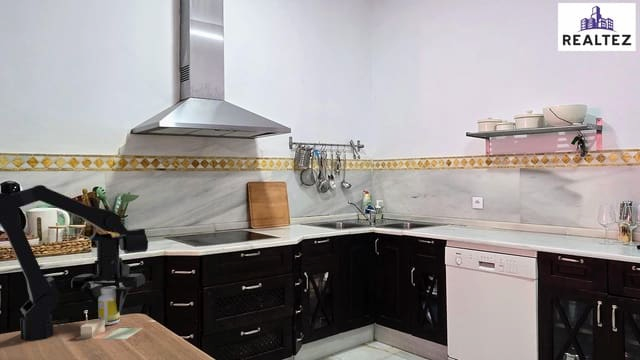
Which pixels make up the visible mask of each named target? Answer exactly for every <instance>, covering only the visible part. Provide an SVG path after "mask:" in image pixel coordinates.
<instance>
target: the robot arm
mask: <svg viewBox="0 0 640 360" xmlns="http://www.w3.org/2000/svg"><path fill="white" fill-rule="evenodd" d="M36 202H42V203H44V204H46V205H49V206H51V207H54V208H57V209H59V210H61V211H64V212H67V213H69V214H72V215H74V216H76V217H78V218H81V219H82V220H84V221H85V222H87V223H89V224H90V225H91V226H93V227H95V228H96V229H97V230H100V231H104V232H108V233H99V232H98V231H94V232H93V234H92V235H91V236H89V237H88V240H89V241H92V242H95V241H96V260H94V265H95V266H96V268H97V269H96V270H97V272H96V275H95V273H83V274H79V275H76V276H73V278H72V280H71V283H70V284H71V288H73V289H74V288H76V289H81V291H84V292H85V293H86V295H87V296H88V298H89V299H90V300H91V302H92V304H93V306H94V308H95V309H96V311H97V312H98V298H99V297H100V296H101V295H102V294H101V288H102V287H103V285H119V287H116V289H115V293H116V306H117V311H118V312H120V313H121V311H122V309H123V306H124V303H125V299H126V297H127V294H128V293H129V291H130V290H131V289H132V288H138V287H140V286H142V285H145V284H146V277H145V275H144V274H143V273H130V268H131V265H129V264H127V263H123V258H122V257H120V250H121V251H123V252H124V254H136V253H137V254H138V253H145V252H147V251H148V247H149V240H148V237H147V234H146V229H145V228H136V229H131V230H130V229H127V228H126V227H125V226H124V224H123V223H122V219H121V216H120V214H119V213H118V212H116V211H113V210H109V209H105V208H101V207H96V206H92V205H88V204H86V203H84V202H81V201H79V200H76V199H74V198H72V197H69V196H67V195H65V194H63V193H60V192H57V191H55V190H53V189H50V188H49V187H47V186H45V185H42V184H39V185H38V184H37V185H34V186H32V187H29V188H27V189H23V190H19V191H16V192H12V193H6V192H0V227H1V228H2V230H3V231H4V232H5V235H6V238H7V239H8V240H7V241H8V242H9V244H10V246H11V248H12V251H13V253H14V255H15V257H16V259H17V262H18V264H19V266H20V268H21V270H22V272H23V275H24V277H25V280H26V285H27V293H28V295H29V296H28V297H29V299H28V300H27V301H26V302H25V303H24V305H22V307H20V311H21V314H22V315H23V317H22V318H20V320H19V321H20V322H19V323H20V340H23V341H26V342H31V341H32V342H33V341H39V340H46V339H50V338H51V337H53V336H54V322H53V321H52V311H53V310H55V309H56V307H58V305H59V303H60V296H59V295H61V293H62V292H60V290H59V289H58V288H57V284H56V279H54V278H53V277H52V276H49V277H47V278H46V276H45V275H44V273H43V271H42V268H41V267H40V265H39V262H38V260H37V257H36V256H35V254H34V251H33V249H32V246H31V244H30V242H29V240H28V237H27V235H26V233H25V231H24V229H23V226H22V222H21V221H22V220H21V214H20V210H19V208H21V207H22V208H23V207H25V206H28V205H30V204H34V203H36ZM111 233H113V234H117V235H115V236H113V235H112V234H111Z"/></svg>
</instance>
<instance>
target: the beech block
mask: <svg viewBox="0 0 640 360" xmlns="http://www.w3.org/2000/svg"><path fill="white" fill-rule="evenodd" d="M105 326H106V325H105V320H99V319H91V320H90V321H88V322H86V323H85V324H82V325H80V336H81V338H94V337H95V336H97V335H99V334H100V333H102V332H104V331H105V328H106V327H105Z"/></svg>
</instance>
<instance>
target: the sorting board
mask: <svg viewBox="0 0 640 360" xmlns="http://www.w3.org/2000/svg"><path fill="white" fill-rule="evenodd" d="M142 329H143V327H119V328H118V327H105V331H104V332H102V333H100V334H99V335H97V336H95V337H94V338H81V335H80V336H78V337H76V338H75V340H101V339H102V340H127V339H129V338H131V337H132V336H134V335H135V334H136V333H138V332H140V331H141V330H142Z"/></svg>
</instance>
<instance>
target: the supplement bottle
mask: <svg viewBox="0 0 640 360" xmlns="http://www.w3.org/2000/svg"><path fill="white" fill-rule="evenodd" d="M116 288H117V286H115V285H110V286H109V285H108V286H102V288H101V296H100V297H99V298H98V311H97V313H98V314H97V315H98V319H97V320H105V326H108V325H114V324H117V323H119V322H120V319H121V316H120V314H121V311H120V312H118V311H117V306H116V293H115V289H116Z"/></svg>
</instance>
